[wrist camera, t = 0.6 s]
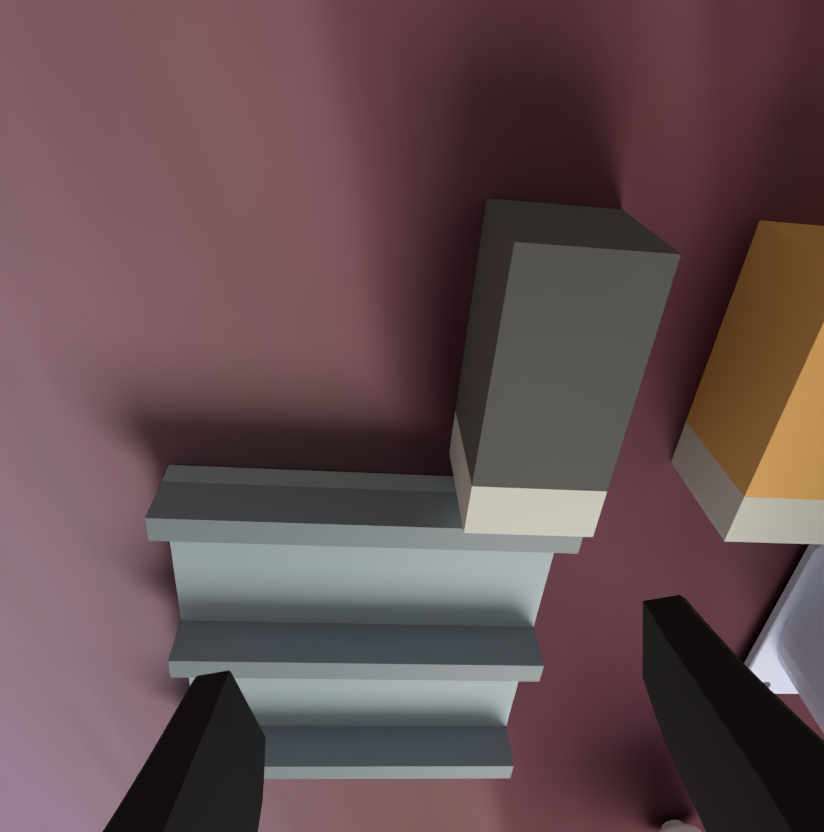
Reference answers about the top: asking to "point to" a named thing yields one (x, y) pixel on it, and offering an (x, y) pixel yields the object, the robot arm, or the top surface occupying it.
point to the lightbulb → (678, 827)
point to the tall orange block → (764, 398)
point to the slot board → (354, 616)
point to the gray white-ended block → (553, 363)
